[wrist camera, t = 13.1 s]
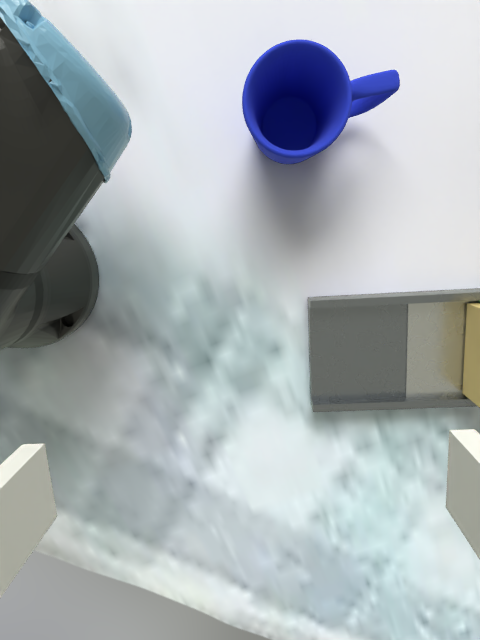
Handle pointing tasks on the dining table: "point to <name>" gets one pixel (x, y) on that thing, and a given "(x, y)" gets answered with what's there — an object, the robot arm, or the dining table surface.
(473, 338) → the block
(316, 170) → the dining table surface
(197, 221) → the dining table surface
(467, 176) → the dining table surface
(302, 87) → the mug
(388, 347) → the tray
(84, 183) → the robot arm
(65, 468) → the dining table surface
